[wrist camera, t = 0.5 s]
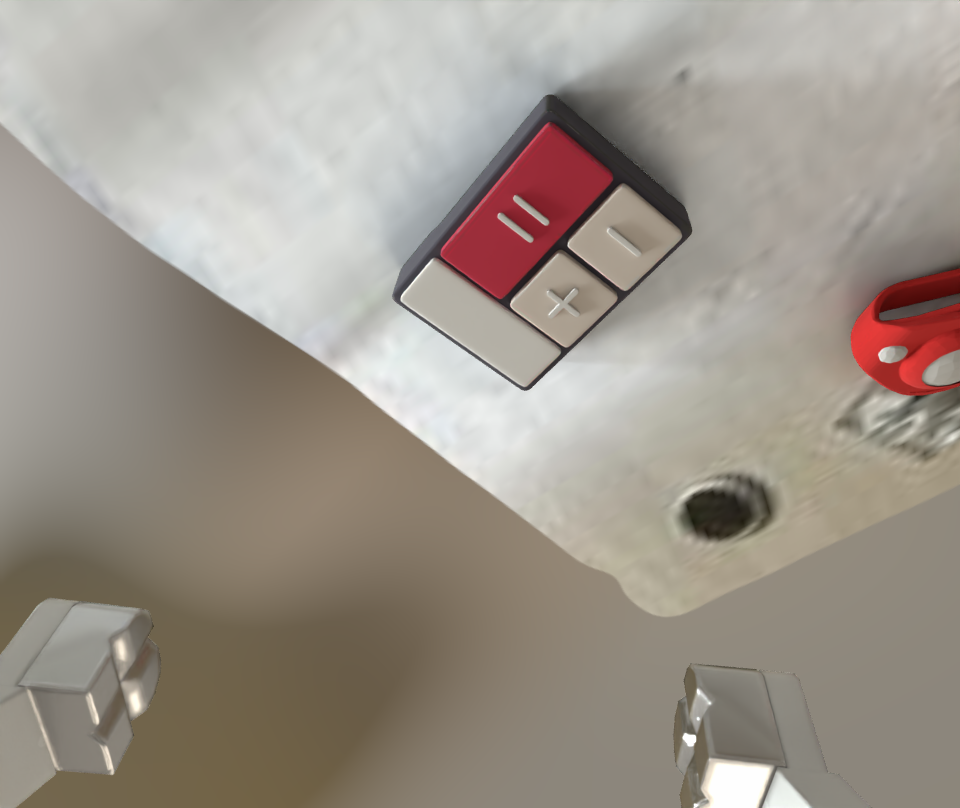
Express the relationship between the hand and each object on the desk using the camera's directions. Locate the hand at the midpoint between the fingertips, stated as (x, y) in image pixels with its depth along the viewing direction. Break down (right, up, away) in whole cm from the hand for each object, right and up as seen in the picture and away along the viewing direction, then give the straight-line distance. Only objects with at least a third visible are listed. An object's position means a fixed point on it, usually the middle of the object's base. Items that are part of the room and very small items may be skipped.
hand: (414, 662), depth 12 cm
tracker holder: (+31, +10, +39) cm, 51 cm away
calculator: (+5, +14, +39) cm, 42 cm away
